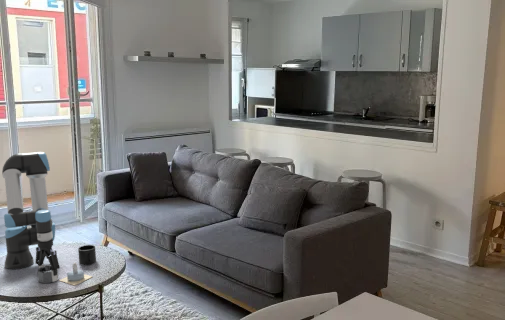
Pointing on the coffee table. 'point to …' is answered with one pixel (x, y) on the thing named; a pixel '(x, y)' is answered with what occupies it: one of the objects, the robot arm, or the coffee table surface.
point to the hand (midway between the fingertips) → (48, 278)
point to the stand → (47, 268)
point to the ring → (45, 275)
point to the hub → (75, 276)
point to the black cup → (87, 255)
